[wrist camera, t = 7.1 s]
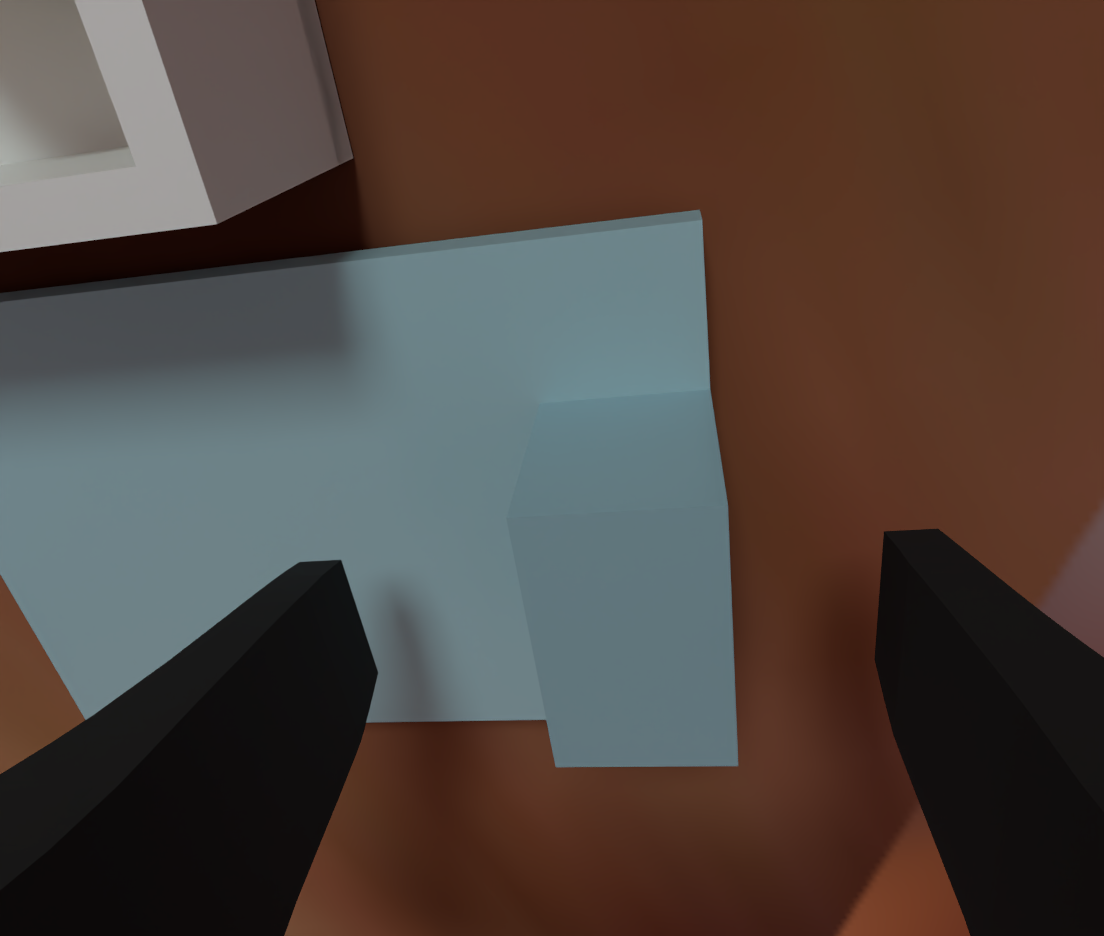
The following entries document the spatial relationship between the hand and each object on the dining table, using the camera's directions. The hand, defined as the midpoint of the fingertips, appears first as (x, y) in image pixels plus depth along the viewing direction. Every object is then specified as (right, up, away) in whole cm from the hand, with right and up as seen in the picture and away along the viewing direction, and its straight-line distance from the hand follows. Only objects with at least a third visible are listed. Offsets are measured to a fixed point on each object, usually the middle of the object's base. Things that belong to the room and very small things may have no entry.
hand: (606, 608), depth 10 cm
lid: (-4, +1, +4) cm, 6 cm away
